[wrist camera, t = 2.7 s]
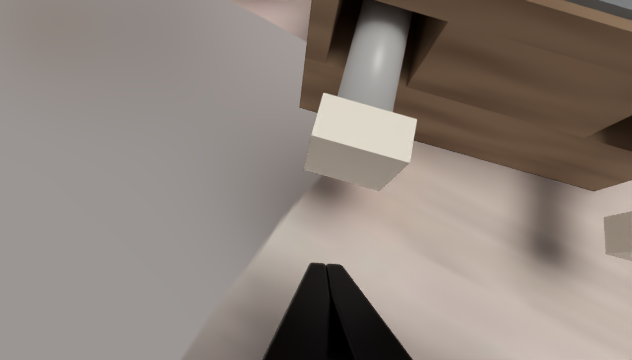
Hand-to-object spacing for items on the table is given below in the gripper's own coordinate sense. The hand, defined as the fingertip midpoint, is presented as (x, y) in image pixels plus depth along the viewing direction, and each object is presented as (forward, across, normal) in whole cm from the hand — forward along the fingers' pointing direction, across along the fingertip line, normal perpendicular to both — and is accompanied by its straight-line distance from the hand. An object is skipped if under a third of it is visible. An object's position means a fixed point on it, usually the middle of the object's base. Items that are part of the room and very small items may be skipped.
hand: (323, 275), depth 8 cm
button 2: (+8, -2, -4) cm, 9 cm away
